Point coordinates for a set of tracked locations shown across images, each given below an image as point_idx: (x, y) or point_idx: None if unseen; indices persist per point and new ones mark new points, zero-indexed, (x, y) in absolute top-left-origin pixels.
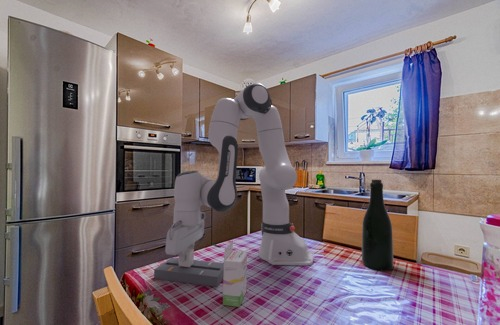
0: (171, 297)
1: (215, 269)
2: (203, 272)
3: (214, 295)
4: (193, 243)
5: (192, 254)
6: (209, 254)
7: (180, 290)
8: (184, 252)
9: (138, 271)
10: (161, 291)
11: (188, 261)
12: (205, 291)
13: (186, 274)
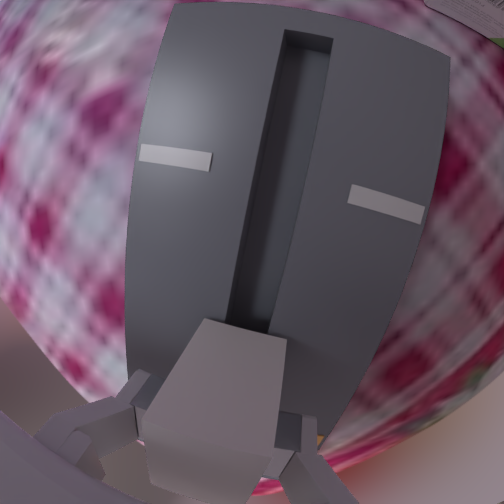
0: (487, 326)
1: (274, 81)
2: (383, 184)
3: (494, 101)
4: (65, 445)
5: (198, 390)
6: (4, 232)
7: (444, 306)
8: (326, 496)
9: None
10: (427, 386)
11: (279, 381)
12: (469, 152)
13: (382, 328)
